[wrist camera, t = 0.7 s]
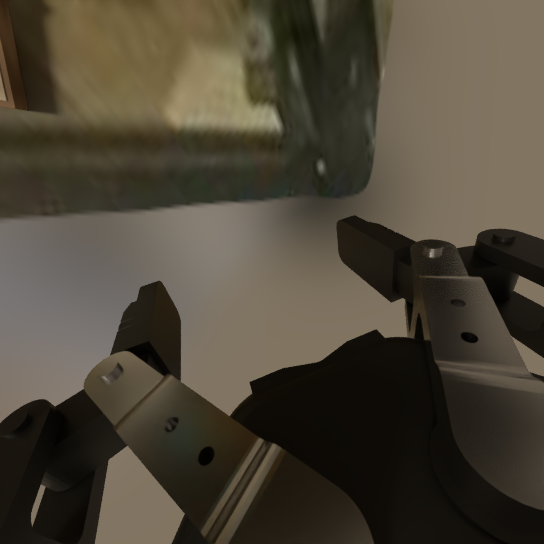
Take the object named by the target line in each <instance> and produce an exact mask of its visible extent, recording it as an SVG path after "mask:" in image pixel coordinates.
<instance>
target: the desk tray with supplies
mask: <svg viewBox="0 0 544 544" xmlns="http://www.w3.org/2000/svg"><path fill="white" fill-rule="evenodd" d="M0 106H4V107H9V108H14V109H21V110H27V111H28V106H27V101H26V95H25V90H24V85H23V80H22V75H21V70H20V64H19V59H18V54H17V49H16V44H15V39H14V34H13V28H12V23H11V18H10V13H9V8H8V3H7V0H0Z"/></svg>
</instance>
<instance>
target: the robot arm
mask: <svg viewBox="0 0 544 544" xmlns="http://www.w3.org/2000/svg"><path fill="white" fill-rule="evenodd" d="M337 238H338V251H339V255H340V258H341V260H342V261H343V263H344V264H346V265H347V266H348V267H349V268H350V269H351V270H353V271H354V272H355V273H356V274H357V275H359V276H360V277H361V278H362V279H363V280H365V281H366V282H367V283H368V284H369V285H371V286H372V287H373V288H374V289H375V290H377V291H378V292H379V293H380V294H382V295H383V296H384V297H385V298H386V299H388V300H389V301H390V302H394V301H396V300H399V299H401V298H404V299H405V316H406V326H407V337H408V338H407V337H390V338H384V337H383V336H382V335H381V333H379V332H378V330H373V331H371V332H369V333H366V334H364V335H361V336H359V337H357V338H354V339H352V340H349V341H347V342H346V343H344V344H343V345H342V346H340V347H339V348H338V349H337V350H335V351H334V352H332V353H331V354H330V355H329V356H327V357H326V358H325V359H323V360H322V361H319V362H317V363H311V364H305V365H300V366H294V367H288V368H282V369H280V370H278V371H275V372H273V373H270V374H268V375H266V376H263V377H261V378H258V379H256V380H254V381H251V382H250V386H251V389H252V394H251V395H250V396H248V397H247V398H246V399H245V400H244V401H243V402H242V403H240V404H239V406H238V407H237V408H236V409H235V410H234V411H233V413H232V414H231V415H230V416H228V415H227V414H225V413H224V412H223V411H221V410H220V409H218V408H217V407H215V406H214V405H213V404H211V403H210V402H208V401H207V400H206V399H204V398H203V397H201V396H200V395H199V394H197V393H196V392H194V391H193V390H191V389H190V388H189V387H187V386H186V385H185V384H183V383H182V382H181V320H180V316H179V313H178V311H177V308H176V307H175V305H174V303H173V301H172V299H171V298H170V296H169V294H168V292H167V290H166V288H165V287H164V285H163V284H162V282H161V281H157V282H154V283H151V284H148V285H145V286H142V287H141V288H140V290H139V294H138V298H137V301H135V302H132V303H131V304H130V305H129V306H128V308H127V309H126V310H125V311H124V313H123V316H122V319H121V324H120V325H119V329H118V330H119V331H118V332H117V335H116V338H115V341H114V345H113V348H112V351H111V354H110V356H109V357H107V358H105V359H104V360H102V361H101V362H100V363H99V364H97V365H96V366H95V367H94V368H93V369H92V370H91V372H90V373H89V374H88V376H87V378H86V379H85V382H84V389H83V390H81V391H80V392H78V393H77V394H75V395H73V396H72V397H70V398H69V399H67V400H65V401H64V402H62V403H60V404H59V405H57V406H54V405H52V404H51V403H50V402H49V401H47V400H44V399H39V400H35V401H32V402H30V403H28V404H25V405H24V406H22V407H20V408H19V409H17V410H16V411H14V412H13V413H11V414H10V415H9V416H8V417H6V418H5V419H4V420H3V421H2V422H1V423H0V544H95V538H96V532H97V526H98V520H99V514H100V508H101V502H102V496H103V490H104V484H105V478H106V472H107V466H108V460H109V459H110V458H112V457H113V456H114V455H115V454H117V453H118V452H120V451H121V450H122V449H124V448H125V447H126V446H128V447H129V448H130V449H131V450H132V451H133V453H134V454H135V455H136V456H137V457H138V458H139V460H140V461H141V462H142V463H143V464H144V466H145V467H146V468H147V469H148V471H149V472H150V473H151V474H152V475H153V476H154V478H155V479H156V480H157V481H158V482H159V484H160V485H161V486H162V487H163V488H164V490H165V491H166V492H167V493H168V494H169V496H170V497H171V498H172V499H173V500H174V501H175V503H176V504H177V505H178V506H179V507H180V509H181V510H182V511H183V512H184V513H185V515H184V517H183V519H182V521H181V524H180V526H179V528H178V531H177V533H176V535H175V538H174V540H173V542H172V544H544V376H540V375H537V374H534V373H530V372H529V371H528V369H527V368H526V366H525V364H524V362H523V360H522V358H521V356H520V354H519V351H518V349H517V348H516V345H515V343H514V341H513V339H512V337H514V338H515V339H517V340H518V341H520V342H521V343H523V344H524V345H525V346H527V347H528V348H530V349H531V350H533V351H534V352H536V353H537V354H539V355H540V356H542V357H543V358H544V307H543V306H541V305H539V304H537V303H535V302H533V301H532V300H530V299H528V298H526V297H524V296H522V295H520V294H518V293H516V292H515V291H513V290H514V287H515V285H516V282H517V280H518V277H519V275H520V276H522V277H524V278H526V279H528V280H530V281H533V282H535V283H537V284H539V285H541V286H543V287H544V240H543V239H540V238H537V237H534V236H531V235H528V234H525V233H522V232H519V231H515V230H509V229H490V230H485V231H482V232H480V233H479V234H478V236H477V240H476V244H475V246H468V247H461V248H456V247H455V246H454V245H453V244H451V243H449V242H446V241H442V240H434V239H433V240H432V239H430V240H421V241H418V242H415V241H413V240H411V239H409V238H407V237H405V236H403V235H401V234H399V233H397V232H396V233H395V232H394V231H392V230H391V229H388V228H386V227H384V226H382V225H380V224H377V223H372V222H367V221H365V220H363V219H361V218H359V217H357V216H351V217H347V218H345V219H342V220H339V221H338V222H337ZM511 336H512V337H511ZM41 484H42V485H44V486H45V487H46V488H45V491H44V494H43V497H42V500H41V503H40V506H39V509H38V512H37V515H36V518H35V521H34V524H33V527H32V524H31V512H32V508H33V505H34V502H35V499H36V496H37V493H38V490H39V488H40V485H41Z"/></svg>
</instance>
